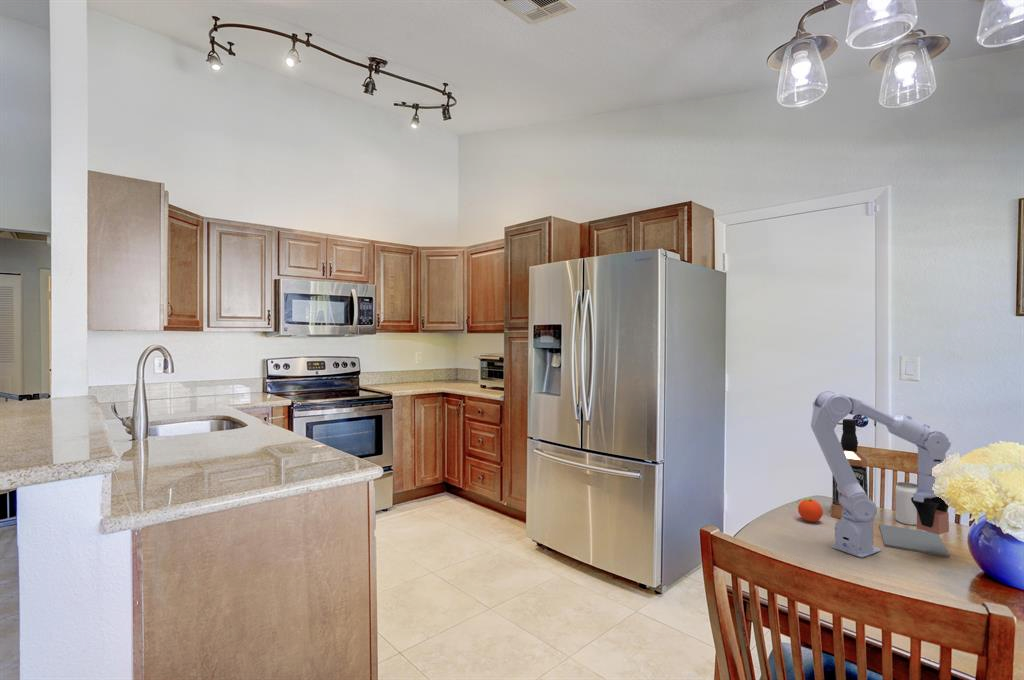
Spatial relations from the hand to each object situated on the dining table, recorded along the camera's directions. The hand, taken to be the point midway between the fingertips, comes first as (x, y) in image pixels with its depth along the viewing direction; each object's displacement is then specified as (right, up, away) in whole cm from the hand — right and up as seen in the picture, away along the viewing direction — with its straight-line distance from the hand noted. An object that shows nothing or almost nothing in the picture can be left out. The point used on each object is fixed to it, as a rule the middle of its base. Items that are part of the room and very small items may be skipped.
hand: (932, 524), depth 135 cm
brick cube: (0, -2, 0) cm, 2 cm away
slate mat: (+2, -8, +10) cm, 13 cm away
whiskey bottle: (-1, -9, +31) cm, 32 cm away
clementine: (-17, -9, +27) cm, 33 cm away
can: (+13, -9, +25) cm, 29 cm away
